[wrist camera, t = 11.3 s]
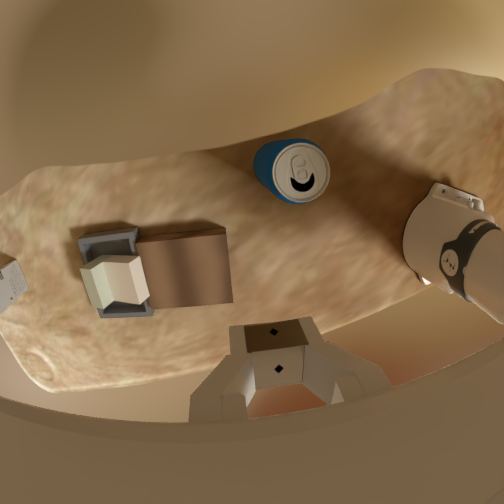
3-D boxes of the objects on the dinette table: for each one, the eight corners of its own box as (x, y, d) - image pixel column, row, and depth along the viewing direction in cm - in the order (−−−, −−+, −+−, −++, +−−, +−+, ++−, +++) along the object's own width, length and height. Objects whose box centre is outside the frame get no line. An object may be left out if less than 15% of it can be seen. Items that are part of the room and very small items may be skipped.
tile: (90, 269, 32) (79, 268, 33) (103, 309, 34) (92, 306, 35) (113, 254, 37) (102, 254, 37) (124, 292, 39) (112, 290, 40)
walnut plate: (225, 227, 38) (226, 234, 36) (232, 292, 42) (233, 302, 39) (141, 236, 38) (135, 243, 35) (154, 298, 41) (150, 309, 38)
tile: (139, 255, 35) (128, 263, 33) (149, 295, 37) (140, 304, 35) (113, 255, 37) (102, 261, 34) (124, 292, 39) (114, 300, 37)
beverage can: (258, 193, 37) (275, 213, 26) (248, 146, 35) (260, 145, 24) (304, 183, 37) (339, 199, 26) (295, 137, 35) (328, 133, 24)
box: (138, 226, 37) (133, 231, 35) (155, 307, 42) (152, 316, 39) (84, 234, 36) (77, 239, 34) (105, 309, 41) (100, 318, 39)
